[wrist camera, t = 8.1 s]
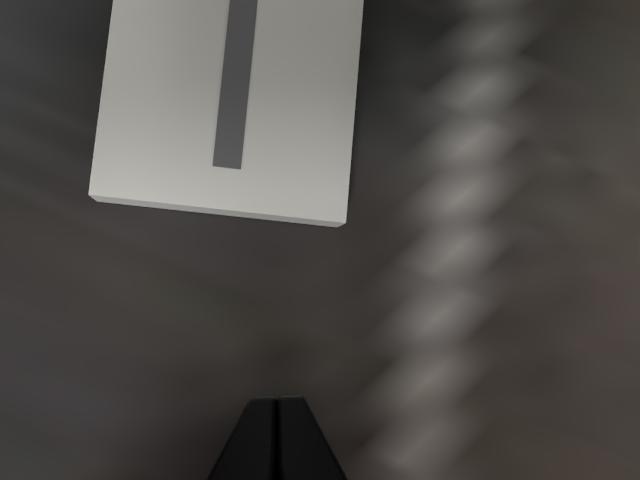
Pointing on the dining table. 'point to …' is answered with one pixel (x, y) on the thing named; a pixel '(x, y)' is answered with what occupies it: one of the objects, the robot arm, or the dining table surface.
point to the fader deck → (230, 107)
